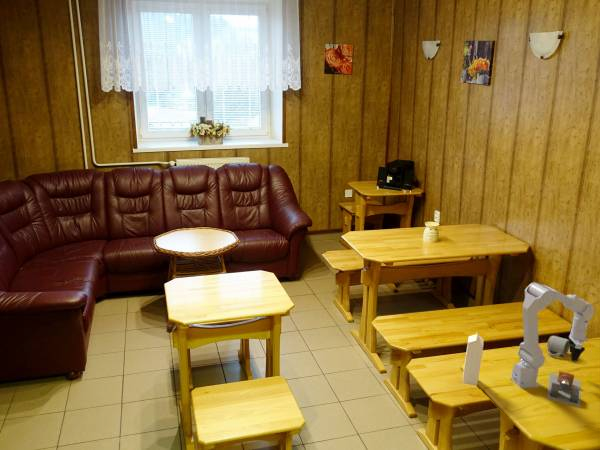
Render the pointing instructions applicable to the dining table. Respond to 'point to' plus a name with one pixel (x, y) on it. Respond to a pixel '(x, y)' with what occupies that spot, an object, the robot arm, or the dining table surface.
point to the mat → (563, 396)
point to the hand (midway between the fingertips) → (573, 356)
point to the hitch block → (565, 388)
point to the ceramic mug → (558, 346)
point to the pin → (565, 378)
